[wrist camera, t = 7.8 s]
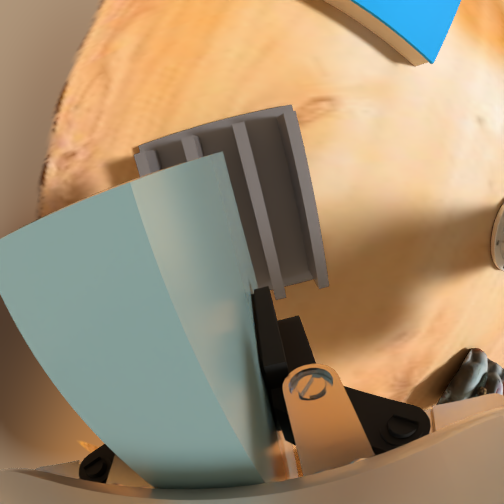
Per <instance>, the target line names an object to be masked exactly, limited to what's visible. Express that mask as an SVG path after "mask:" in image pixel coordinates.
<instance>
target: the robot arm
mask: <svg viewBox="0 0 504 504" xmlns="http://www.w3.org/2000/svg"><path fill="white" fill-rule="evenodd" d="M491 254H492V259H493V262H494V264H495V266H496V267H497V268H499V269H500V270H502V271H504V203H503V205H502V206H501V208H500V210H499V212H498V214H497V217H496V220H495V223H494V226H493V231H492V237H491ZM251 295H252V304H253V313H254V321H255V330H256V339H257V347H258V356H259V363H260V368H261V372H262V376H263V379H264V382H265V385H266V388H267V391H268V394H269V397H270V400H271V403H272V406H273V409H274V412H275V415H276V418H277V421H278V424H279V427H280V429H281V430H282V433H283V436H284V439H285V441H287V442H289V443H292V444H294V445H296V447H297V452H298V456H299V460H300V464H301V468H302V472H303V477H298V478H293V479H288V480H282V481H277V482H270V483H264V484H256V485H248V486H239V487H228V488H213V489H155V488H154V487H153V486H151V485H150V484H149V483H148V482H147V481H145V480H144V479H143V478H142V477H141V476H139V475H138V474H137V473H136V472H135V471H134V470H132V469H131V468H130V467H129V466H128V465H127V464H126V463H125V462H124V461H122V460H121V459H120V458H119V457H118V456H117V455H116V454H115V453H114V452H113V451H112V450H111V449H110V448H109V447H108V446H107V445H106V444H104V445H102V446H101V447H99V448H98V449H96V450H95V451H93V452H92V453H90V454H89V455H88V456H87V457H86V458H84V460H83V461H82V463H81V462H80V461H79V460H78V461H73V462H68V463H63V464H57V465H51V466H43V467H39V468H37V469H35V470H33V469H25V468H9V469H2V470H0V504H504V396H503V395H501V394H497V393H493V394H486V395H482V396H478V397H474V398H470V399H465V400H460V401H455V402H450V403H445V404H439V405H433V406H432V409H429V410H422V409H421V408H419V407H416V406H414V405H410V404H406V403H402V402H398V401H394V400H391V399H387V398H383V397H379V396H376V395H372V394H369V393H365V392H362V391H358V390H355V389H352V388H348V387H345V386H343V384H342V382H341V380H340V378H339V376H338V374H337V373H336V371H335V370H334V369H332V368H331V367H329V366H326V365H323V364H316V362H315V359H314V357H313V354H312V351H311V348H310V345H309V342H308V339H307V337H306V334H305V331H304V328H303V325H302V323H301V320H300V317H299V316H295V317H291V318H287V319H283V320H279V321H277V318H276V314H275V310H274V306H273V302H272V298H271V294H270V290H269V286H266V287H262V288H258V289H254V294H251Z"/></svg>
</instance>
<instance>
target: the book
mask: <svg viewBox="0 0 504 504" xmlns="http://www.w3.org/2000/svg"><path fill="white" fill-rule="evenodd" d="M324 1H325V2H327V3H329V4H330V5H332V6H334V7H335V8H337V9H339V10H340V11H342V12H344V13H345V14H347V15H348V16H350V17H351V18H353V19H354V20H356V21H357V22H359V23H360V24H362V25H363V26H365V27H366V28H367V29H369V30H370V31H372V32H373V33H374V34H376V35H377V36H378V37H380V38H381V39H382V40H384V41H385V42H386V43H387V44H389V45H390V46H391V47H392V48H394V49H395V50H396V51H397V52H399V53H400V54H401V55H402V56H403V57H404V58H406V59H407V60H408V61H409V62H410V63H411V64H412V65H414V66H418V65H421V64H424V63H427V62H429V63H430V64H432V63H434V61H435V59H436V57H437V54H438V52H439V50H440V48H441V46H442V44H443V41H444V39H445V37H446V35H447V33H448V30H449V28H450V26H451V23H452V21H453V19H454V16H455V14H456V11H457V9H458V7H459V4H460V2H461V0H324Z"/></svg>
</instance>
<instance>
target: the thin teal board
mask: <svg viewBox="0 0 504 504" xmlns="http://www.w3.org/2000/svg"><path fill="white" fill-rule="evenodd" d="M254 289H258V285H257V281H256V277H255V273H254V269H253V266H252V262H251V258H250V254H249V250H248V246H247V243H246V239H245V235H244V231H243V227H242V224H241V220H240V216H239V212H238V208H237V204H236V201H235V197H234V193H233V189H232V185H231V181H230V178H229V174H228V170H227V166H226V162H225V158H224V155H223V151H222V152H219V153H215V154H211V155H207V156H204V157H200V158H197V159H193V160H190V161H187V162H183V163H180V164H177V165H174V166H171V167H168V168H164V169H161V170H158V171H155V172H152V173H150V174H147V175H144V176H141V177H138V178H135V179H132V180H130V181H127V182H124V183H122V184H119V185H116V186H114V187H111V188H109V189H106V190H103V191H101V192H98V193H96V194H93V195H91V196H89V197H86V198H84V199H81V200H79V201H77V202H74V203H72V204H70V205H68V206H65V207H63V208H61V209H59V210H56V211H54V212H52V213H50V214H48V215H46V216H44V217H41V218H39V219H37V220H35V221H33V222H31V223H30V224H27V225H25V226H23V227H22V228H19V229H17V230H16V231H14V232H12V233H10V234H8V235H6V236H4V237H2V238H1V239H0V294H1V297H2V298H3V301H4V303H5V305H6V307H7V309H8V311H9V313H10V314H11V316H12V318H13V320H14V322H15V324H16V326H17V327H18V329H19V331H20V333H21V334H22V336H23V338H24V339H25V341H26V343H27V344H28V346H29V348H30V349H31V351H32V352H33V354H34V356H35V357H36V359H37V360H38V362H39V363H40V365H41V366H42V368H43V369H44V371H45V372H46V373H47V375H48V376H49V378H50V379H51V380H52V382H53V383H54V385H55V386H56V387H57V388H58V390H59V391H60V393H61V394H62V395H63V396H64V398H65V399H66V400H67V401H68V402H69V404H70V405H71V406H72V408H73V409H74V410H75V411H76V412H77V414H78V415H79V416H80V417H81V418H82V419H83V421H84V422H85V423H86V424H87V425H88V426H89V427H90V428H91V429H92V431H93V432H94V433H95V434H96V435H97V436H98V437H99V438H100V439H101V440H102V441H103V442H104V443H105V444H106V445H107V446H108V447H109V448H110V449H111V450H112V451H113V452H114V453H115V454H116V455H117V456H118V457H119V458H120V459H121V460H122V461H124V462H125V463H126V464H127V465H128V466H129V467H130V468H131V469H132V470H134V471H135V472H136V473H137V474H138V475H139V476H141V477H142V478H143V479H144V480H145V481H147V482H148V483H149V484H150V485H151V486H153V487H154V488H155V489H213V488H228V487H239V486H248V485H256V484H264V483H270V482H277V481H282V480H288V479H293V478H298V472H297V466H296V461H295V456H294V450H293V445H292V443H289V442H287V441H285V439H284V436H283V433H282V430H281V429H280V427H279V424H278V421H277V418H276V415H275V412H274V409H273V406H272V403H271V400H270V397H269V394H268V391H267V388H266V385H265V382H264V379H263V376H262V372H261V368H260V363H259V356H258V347H257V339H256V330H255V321H254V313H253V304H252V295H251V294H254Z"/></svg>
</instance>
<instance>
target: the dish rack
mask: <svg viewBox="0 0 504 504" xmlns="http://www.w3.org/2000/svg"><path fill="white" fill-rule="evenodd" d="M139 150H140V153H137V154H135V155H134V157H135V161H136V164H137V168H138V171H139V175H140V177H141V176H144V175H147V174H150V173H152V172H155V171H158V170H161V169H164V168H168V167H171V166H174V165H177V164H180V163H183V162H187V161H190V160H193V159H197V158H200V157H204V156H207V155H211V154H215V153H219V152H222V151H223V155H224V158H225V162H226V166H227V170H228V174H229V178H230V181H231V185H232V189H233V193H234V197H235V201H236V204H237V208H238V212H239V216H240V220H241V224H242V227H243V231H244V235H245V239H246V243H247V246H248V250H249V254H250V258H251V262H252V266H253V269H254V273H255V277H256V281H257V285H258V288H262V287H266V286H269V290H273V291H274V295H275V299H276V300H278V299H282V298H286V294H285V289H284V287H285V286H289V285H293V284H297V283H301V282H305V281H308V280H312V279H314V281H315V282H316V284H317V286H318V288H319V289H321V288H324V287H328V286H329V281H328V274H327V267H326V261H325V254H324V248H323V242H322V236H321V230H320V224H319V219H318V213H317V208H316V202H315V197H314V192H313V187H312V182H311V177H310V172H309V168H308V163H307V158H306V154H305V149H304V145H303V141H302V136H301V132H300V128H299V124H298V120H297V116H296V112H295V111H293V108H292V105H287V106H281V107H276V108H271V109H266V110H261V111H257V112H252V113H248V114H243V115H239V116H235V117H231V118H227V119H223V120H219V121H216V122H212V123H208V124H205V125H201V126H198V127H194V128H191V129H188V130H184V131H181V132H178V133H175V134H172V135H169V136H166V137H163V138H160V139H157V140H154V141H151V142H148V143H145V144H143V145H140V146H139Z"/></svg>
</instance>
